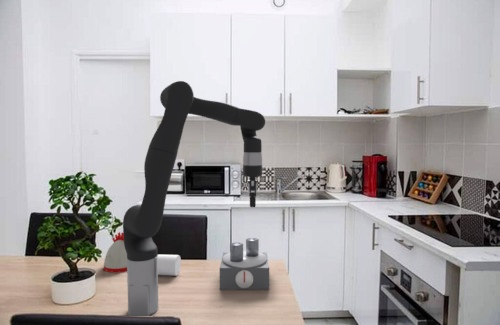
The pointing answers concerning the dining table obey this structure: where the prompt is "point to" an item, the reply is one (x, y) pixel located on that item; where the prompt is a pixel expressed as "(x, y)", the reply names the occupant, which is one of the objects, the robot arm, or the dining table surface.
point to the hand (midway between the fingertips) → (252, 205)
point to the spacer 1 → (236, 252)
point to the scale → (244, 273)
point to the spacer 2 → (252, 247)
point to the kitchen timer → (116, 256)
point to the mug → (169, 264)
